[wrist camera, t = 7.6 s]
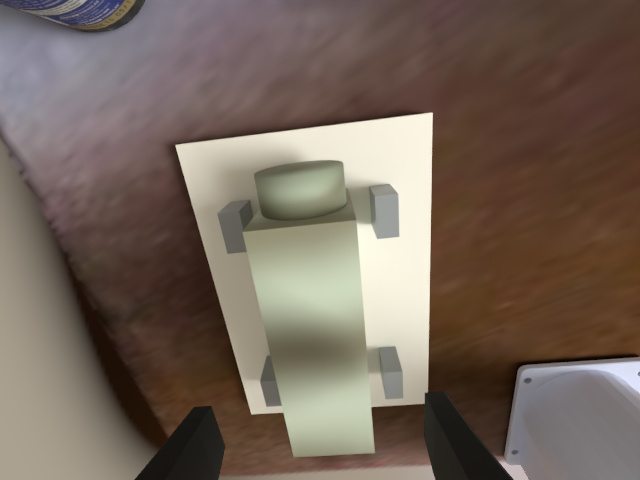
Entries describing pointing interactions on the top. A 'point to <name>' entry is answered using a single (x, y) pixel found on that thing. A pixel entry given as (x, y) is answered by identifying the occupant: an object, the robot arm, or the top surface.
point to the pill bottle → (81, 12)
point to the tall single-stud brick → (313, 305)
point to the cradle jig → (373, 240)
